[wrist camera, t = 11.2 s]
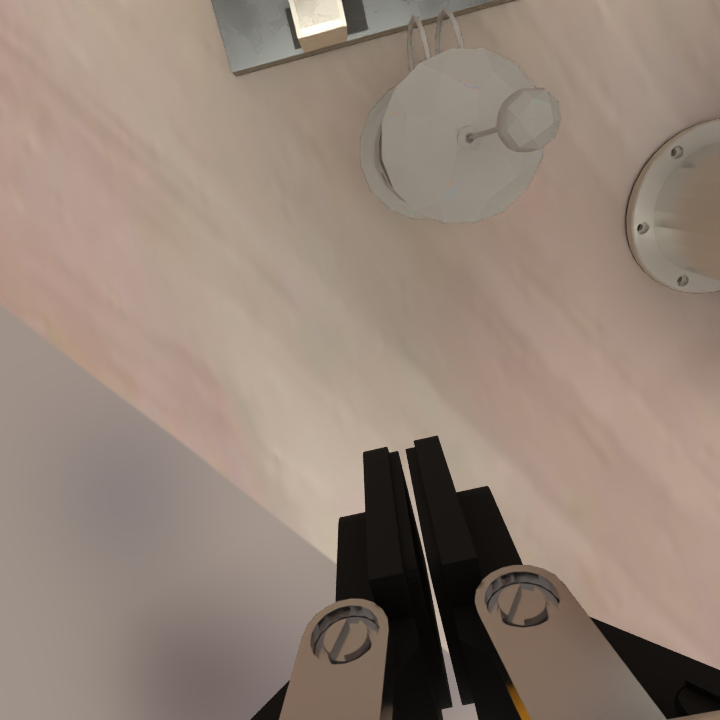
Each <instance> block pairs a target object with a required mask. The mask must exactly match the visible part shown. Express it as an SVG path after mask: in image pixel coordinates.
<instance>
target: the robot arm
mask: <svg viewBox="0 0 720 720" xmlns="http://www.w3.org/2000/svg"><path fill="white" fill-rule="evenodd" d="M672 150H673V154H672V156H671V151H672ZM626 220H627V236H628V240H629V245H630V249H631V251H632V253H633V255H634V257H635V259H636V261H637V263H638V264H639V265H640V266H641V268H642V269H643V270H644V272H645V273H647V274H648V275H649V276H650V277H652V278H653V279H654V280H655V281H657V282H659V283H661V284H663V285H665V286H667V287H669V288H672V289H675V290H678V291H682V292H689V293H712V292H716V291H720V119H715V120H711V121H707V122H703V123H699V124H697V125H695V126H693V127H691V128H688V129H686V130H684V131H682V132H681V133H679V134H678V135H676V136H675V137H673V138H672V139H670V140H669V141H668V142H666V143H665V144H664V145H663V146H662V147H661V148H660V149H659V150H658V151H657V152H656V153H655V154H654V155H653V156H652V158H651V159H650V160H649V162H648V163H647V164H646V166H645V167H644V168H643V170H642V172H641V174H640V175H639V177H638V179H637V181H636V183H635V185H634V188H633V191H632V194H631V197H630V200H629V204H628V211H627V217H626ZM638 225H640V228H639V229H638V230H637V227H638ZM678 278H679V280H678ZM677 280H678V281H677ZM414 445H415V447H414V448H409V449H406V454H407V459H408V464H409V470H410V475H411V480H412V485H413V490H414V495H415V500H416V506H417V511H418V516H419V521H420V526H421V531H422V536H423V542H424V547H425V552H426V557H427V562H428V566H429V571H430V575H431V580H432V584H433V588H434V592H435V596H436V600H437V604H438V608H439V612H440V616H441V620H442V625H443V629H444V633H445V637H446V641H447V645H448V649H449V653H450V657H451V661H452V665H453V669H454V673H455V677H456V682H457V685H458V690H459V694H460V698H461V702H462V705H466V704H471V703H475V707H476V711H477V715H478V720H720V670H718V669H716V668H713V667H711V666H708V665H706V664H704V663H701V662H699V661H696V660H694V659H691V658H689V657H686V656H684V655H682V654H679V653H677V652H674V651H672V650H669V649H667V648H665V647H662V646H660V645H657V644H655V643H652V642H650V641H647V640H645V639H643V638H640V637H638V636H635V635H633V634H630V633H628V632H626V631H623V630H621V629H618V628H616V627H613V626H611V625H608V624H606V623H604V622H601V621H599V620H596V619H594V618H591V617H589V616H588V614H587V613H586V612H585V610H584V609H583V608H582V607H581V605H580V604H579V603H578V601H577V600H576V599H575V597H574V596H573V595H572V593H571V592H570V591H569V589H568V588H567V587H566V585H565V584H564V583H563V582H562V581H561V580H560V579H559V578H558V577H557V576H556V575H554V574H552V573H551V572H549V571H547V570H545V569H543V568H539V567H535V566H531V565H523V564H522V562H521V559H520V557H519V555H518V552H517V550H516V548H515V546H514V543H513V541H512V539H511V536H510V534H509V532H508V529H507V527H506V525H505V523H504V520H503V518H502V516H501V513H500V511H499V509H498V507H497V504H496V502H495V500H494V497H493V495H492V493H491V491H490V489H489V487H488V486H484V487H480V488H475V489H470V490H466V491H461V492H456V490H455V487H454V484H453V481H452V478H451V475H450V472H449V469H448V466H447V463H446V460H445V457H444V454H443V450H442V447H441V444H440V441H439V438H438V436H433V437H429V438H424V439H420V440H415V441H414ZM363 463H364V488H365V512H364V513H359V514H354V515H350V516H345V517H340V519H339V524H338V551H337V578H336V579H337V580H336V603H333V604H331V605H329V606H327V607H325V608H324V609H323V610H321V611H320V612H319V613H317V614H316V615H315V616H314V617H313V618H312V620H311V621H310V622H309V623H308V625H307V627H306V629H305V631H304V633H303V635H302V638H301V642H300V645H299V649H298V653H297V656H296V660H295V663H294V667H293V671H292V675H291V678H290V680H289V681H288V682H287V683H286V685H285V686H283V688H281V689H280V690H279V691H278V692H277V693H276V694H275V695H274V697H273V698H272V699H270V701H268V702H267V704H265V706H263V708H262V709H261V710H260V711H259V712H258V713H257V714H256V715H255V716H254V717H253V718H252V719H251V720H443V716H442V710H441V709H445V708H450V707H452V701H451V695H450V690H449V684H448V679H447V674H446V669H445V663H444V658H443V653H442V647H441V642H440V637H439V631H438V626H437V621H436V616H435V610H434V605H433V600H432V594H431V589H430V584H429V579H428V573H427V568H426V563H425V558H424V554H423V550H422V546H421V541H420V537H419V533H418V529H417V525H416V521H415V517H414V513H413V509H412V505H411V501H410V497H409V493H408V489H407V485H406V481H405V477H404V473H403V469H402V465H401V460H400V456H399V453H398V451H396V452H391V453H389V451H388V448H387V447H384V448H379V449H375V450H370V451H366V452H363Z"/></svg>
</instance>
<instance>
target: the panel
mask: <svg viewBox="0 0 720 720" xmlns="http://www.w3.org/2000/svg"><path fill="white" fill-rule="evenodd" d="M510 1H514V0H211V2H212V5H213V9H214V12H215V16H216V19H217V22H218V26H219V29H220V33H221V36H222V40H223V43H224V47H225V50H226V54H227V57H228V61H229V64H230V68H231V71H232V73H233V74H234V75H235V76H239V75H243V74H247V73H250V72H254V71H258V70H261V69H265V68H269V67H272V66H276V65H280V64H283V63H287V62H290V61H294V60H298V59H301V58H305V57H309V56H312V55H316V54H320V53H323V52H327V51H331V50H334V49H338V48H342V47H345V46H349V45H353V44H356V43H360V42H364V41H367V40H371V39H375V38H378V37H382V36H386V35H389V34H393V33H397V32H400V31H404V30H408V24H409V21H410V19H411V17H412V15H414V16H417V17H419V18H420V20H421V23H422V25H426V24H430V23H433V22H437V19H438V15H439V14H440V13H441V11H442V10H443V8H444V7H447V8H448V9H449V10H450V11H451V12H452V13H453V15H454V17H455V16H459V15H463V14H466V13H470V12H474V11H477V10H481V9H485V8H488V7H492V6H496V5H499V4H503V3H507V2H510ZM448 18H449V16H448V15H447V14H445V15H444V16H443V18H442V20H444V19H448ZM415 27H417V24H416V22H415V21H414V23H413V28H415Z"/></svg>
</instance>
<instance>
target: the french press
mask: <svg viewBox="0 0 720 720" xmlns="http://www.w3.org/2000/svg"><path fill="white" fill-rule="evenodd" d="M445 14H447V15H448V16H449V18H450V20H451V22H452V25H453V27H454V31H455V35H456V39H457V44H458V48H450V49H448V50H446V51H444V52H442V53H440V30H441V24H442V18H443V16H444V15H445ZM414 21H415V22H416V24H417V27H418V30H419V32H420V35H421V39H422V42H423V46H424V50H425V55H426V60H425V61H423V62H421V63H419V64H418V65H417V66H416V67H415V68H414V67H413V53H412V28H413V23H414ZM435 44H436V56H433V57H431V54H430V50H429V46H428V42H427V38H426V33H425V30H424V28H423V25H422V23H421V20H420V18H419V17H417V16H414V15H412V17H411V19H410V21H409V24H408V38H407V47H408V61H409V70H410V74H409V75H408V76H407V77H406V78H405V79H404V80H403V81H402V82H401V83H400V84H399V85H397V86H395V87H393V88H391V89H389V90H388V91H387V93H386V94H385V95H384V96H383V97H382V98H381V99H380V100H379V101H378V103H377V104H376V105H375V106H374V107H373V108H372V109H371V110H370V113H369V116H368V118H367V121H366V124H365V126H364V129H363V132H362V135H361V137H360V143H361V167H362V170H363V172H364V175H365V177H366V180H367V182H368V185H369V187H370V190H371V191H372V192H373V193H374V194H375V195H376V196H377V197H378V198H379V199H380V201H381V202H382V203H383V204H384V205H385V206H386V207H387V208H388V209H390V210H392V211H395V212H397V213H399V214H402V215H404V216H407V217H409V218H411V219H435V220H437V221H440V222H442V223H475V222H478V221H480V220H483V219H485V218H488V217H490V216H493V215H495V214H498V213H500V212H503V211H504V210H505V209H506V208H507V207H508V206H509V205H510V204H511V203H512V202H513V201H515V200H516V199H517V198H518V197H519V196H520V195H521V194H522V193H523V192H524V191H525V190H526V189H527V188H528V186H529V184H530V182H531V180H532V178H533V176H534V174H535V171H536V169H537V167H538V165H539V163H540V161H541V159H542V156H543V147H544V146H545V145H546V144H547V143H548V142H550V141H551V140H552V139H553V138H554V137H555V135H556V132H557V129H558V126H559V123H560V120H561V117H560V110H559V102H558V101H557V100H556V99H555V98H554V97H553V96H552V95H551V94H550V93H549V92H548V91H547V90H545V89H544V88H535V86H534V85H533V84H532V82H531V81H530V80H529V79H528V77H527V76H526V75H525V74H524V72H523V71H522V70H521V69H520V67H519V66H518V65H517V64H516V63H515V62H513V61H511V60H509V59H507V58H505V57H502V56H500V55H498V54H496V53H494V52H492V51H490V50H488V49H485V48H464V44H463V41H462V37H461V33H460V29H459V25H458V23H457V21H456V19H455V17H454V15H453V13H452V12H451V11H450V10H449V9H448V8H447V7H444V8H443V10H442V11H441V13H440V14H439V15H438V19H437V27H436V36H435Z"/></svg>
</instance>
